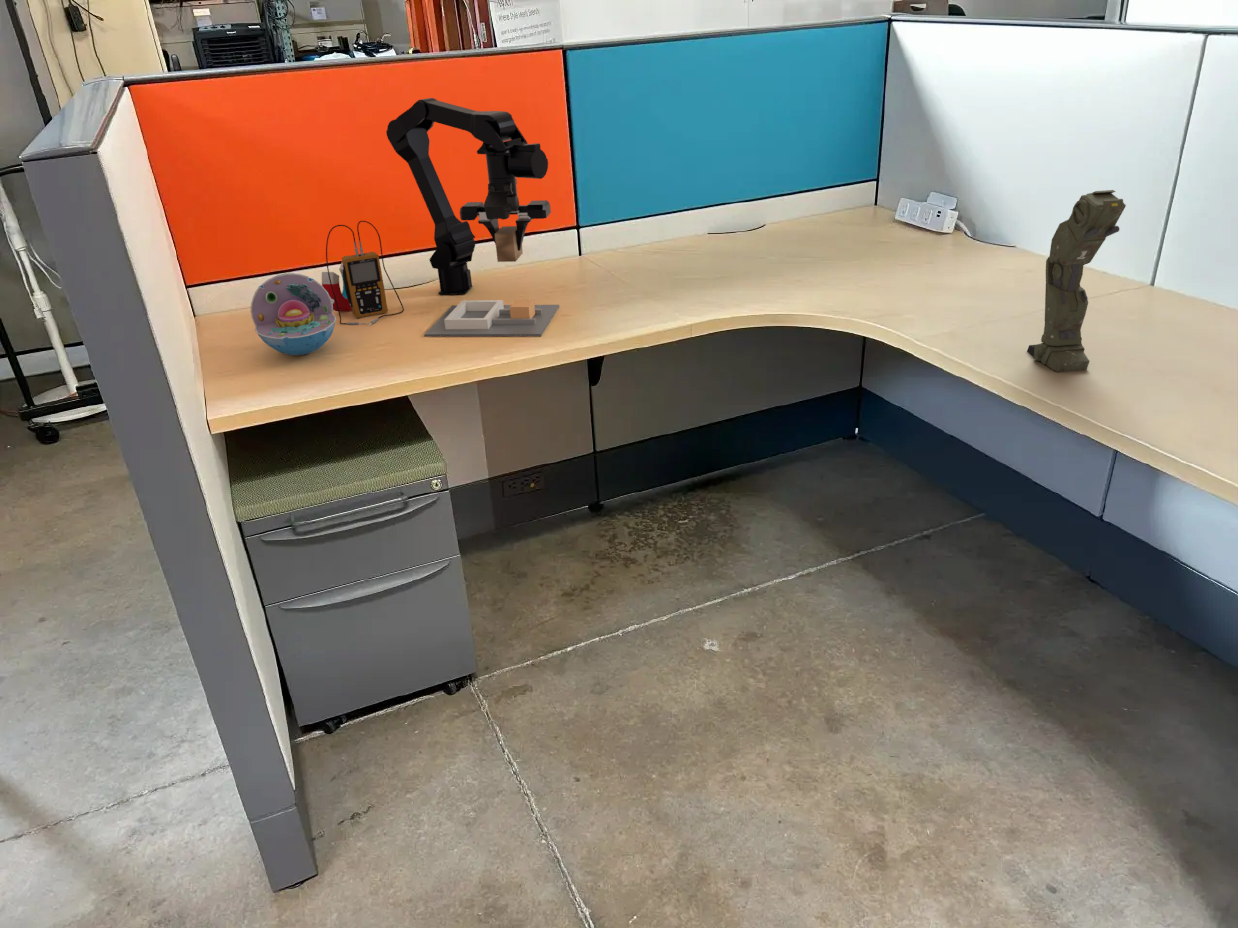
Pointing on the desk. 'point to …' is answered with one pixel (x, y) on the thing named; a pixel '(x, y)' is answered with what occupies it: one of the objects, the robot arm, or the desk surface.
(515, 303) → the block
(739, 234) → the desk surface
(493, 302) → the grey base board
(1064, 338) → the mechanical leg
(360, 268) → the multimeter
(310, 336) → the educational model
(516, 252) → the block
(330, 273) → the magnet
